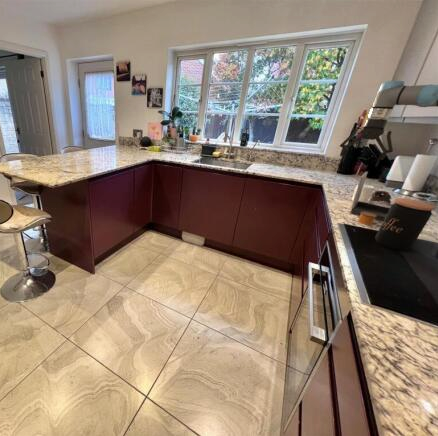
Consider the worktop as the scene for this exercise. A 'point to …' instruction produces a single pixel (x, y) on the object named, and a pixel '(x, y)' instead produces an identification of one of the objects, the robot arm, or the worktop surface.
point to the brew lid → (359, 189)
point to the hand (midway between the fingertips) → (358, 163)
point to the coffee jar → (403, 223)
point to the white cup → (363, 193)
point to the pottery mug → (381, 196)
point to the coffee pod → (366, 218)
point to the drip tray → (370, 210)
